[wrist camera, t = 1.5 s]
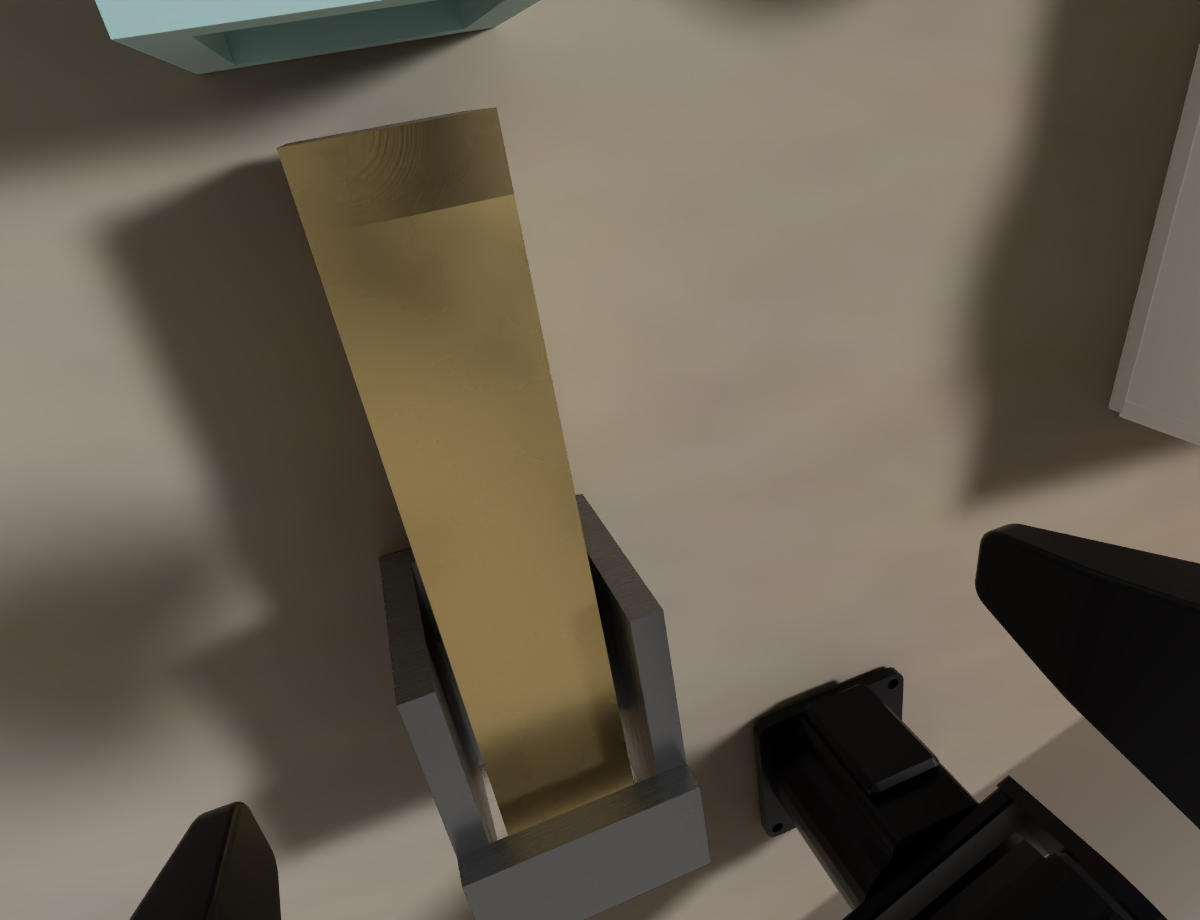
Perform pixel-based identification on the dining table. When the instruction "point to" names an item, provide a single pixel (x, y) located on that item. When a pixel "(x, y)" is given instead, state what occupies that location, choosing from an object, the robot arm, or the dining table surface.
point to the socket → (286, 27)
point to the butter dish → (1169, 299)
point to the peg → (470, 439)
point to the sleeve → (585, 834)
